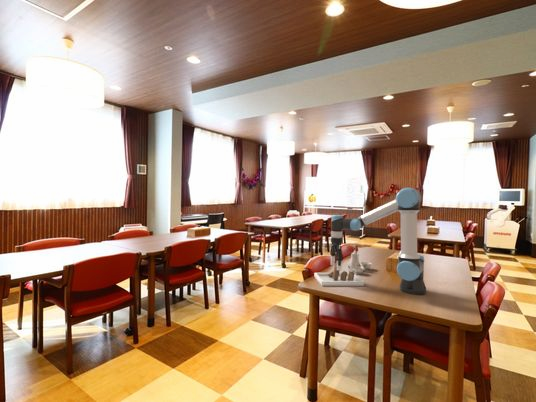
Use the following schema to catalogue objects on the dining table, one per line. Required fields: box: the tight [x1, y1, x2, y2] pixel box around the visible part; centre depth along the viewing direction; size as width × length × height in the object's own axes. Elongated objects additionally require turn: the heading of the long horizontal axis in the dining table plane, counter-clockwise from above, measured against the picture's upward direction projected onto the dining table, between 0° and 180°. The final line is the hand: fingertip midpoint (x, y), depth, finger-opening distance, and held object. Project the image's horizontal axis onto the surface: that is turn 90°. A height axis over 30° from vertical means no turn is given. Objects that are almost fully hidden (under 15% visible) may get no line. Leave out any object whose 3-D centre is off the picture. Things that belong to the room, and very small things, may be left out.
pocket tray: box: [313, 272, 365, 287], centre depth 188 cm, size 20×28×3 cm
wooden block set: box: [328, 263, 356, 281], centre depth 189 cm, size 18×9×10 cm, turn 55°
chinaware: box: [347, 249, 373, 275], centre depth 216 cm, size 28×17×17 cm, turn 146°
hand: (335, 267), depth 189 cm, fingers open, 13 cm apart
